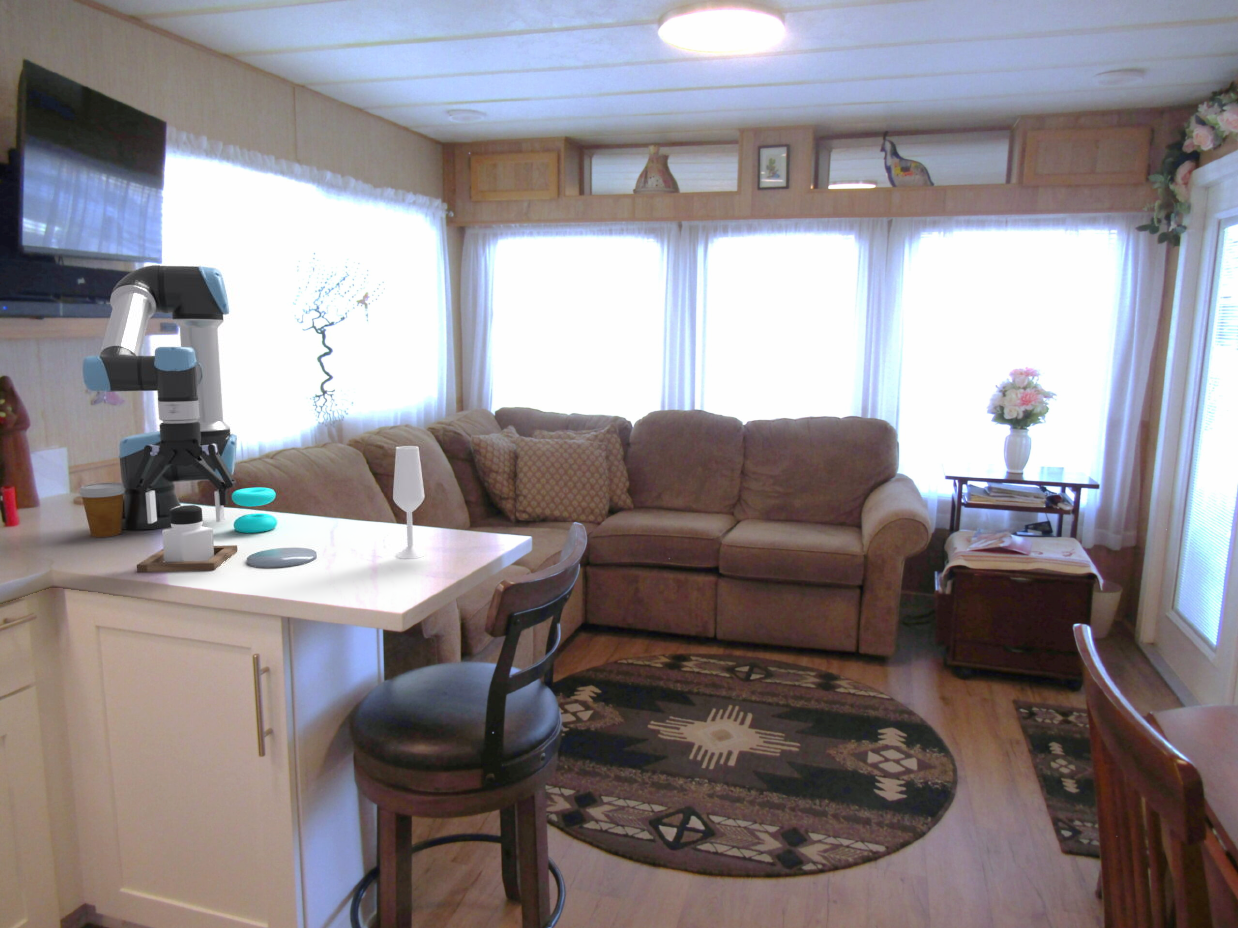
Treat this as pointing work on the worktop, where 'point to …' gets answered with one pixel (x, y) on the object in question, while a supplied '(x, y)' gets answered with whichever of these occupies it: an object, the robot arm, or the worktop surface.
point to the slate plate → (281, 557)
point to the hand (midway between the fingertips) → (186, 521)
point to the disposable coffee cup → (103, 508)
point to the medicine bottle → (187, 536)
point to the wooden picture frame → (158, 565)
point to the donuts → (257, 520)
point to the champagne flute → (408, 492)
